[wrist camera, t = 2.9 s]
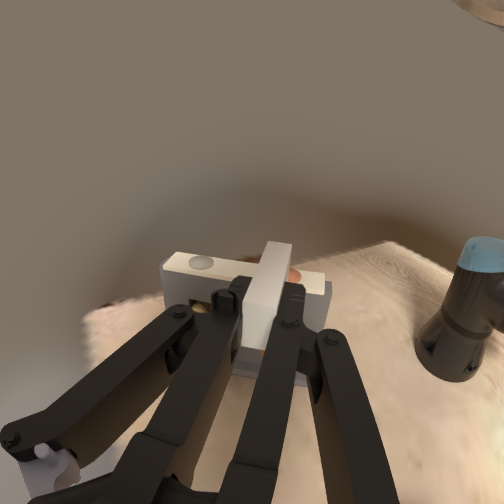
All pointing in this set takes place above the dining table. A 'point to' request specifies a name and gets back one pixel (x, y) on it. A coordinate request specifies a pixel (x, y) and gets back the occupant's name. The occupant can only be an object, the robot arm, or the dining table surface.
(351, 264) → the dining table surface
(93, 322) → the dining table surface
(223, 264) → the console
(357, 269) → the dining table surface
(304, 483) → the dining table surface
